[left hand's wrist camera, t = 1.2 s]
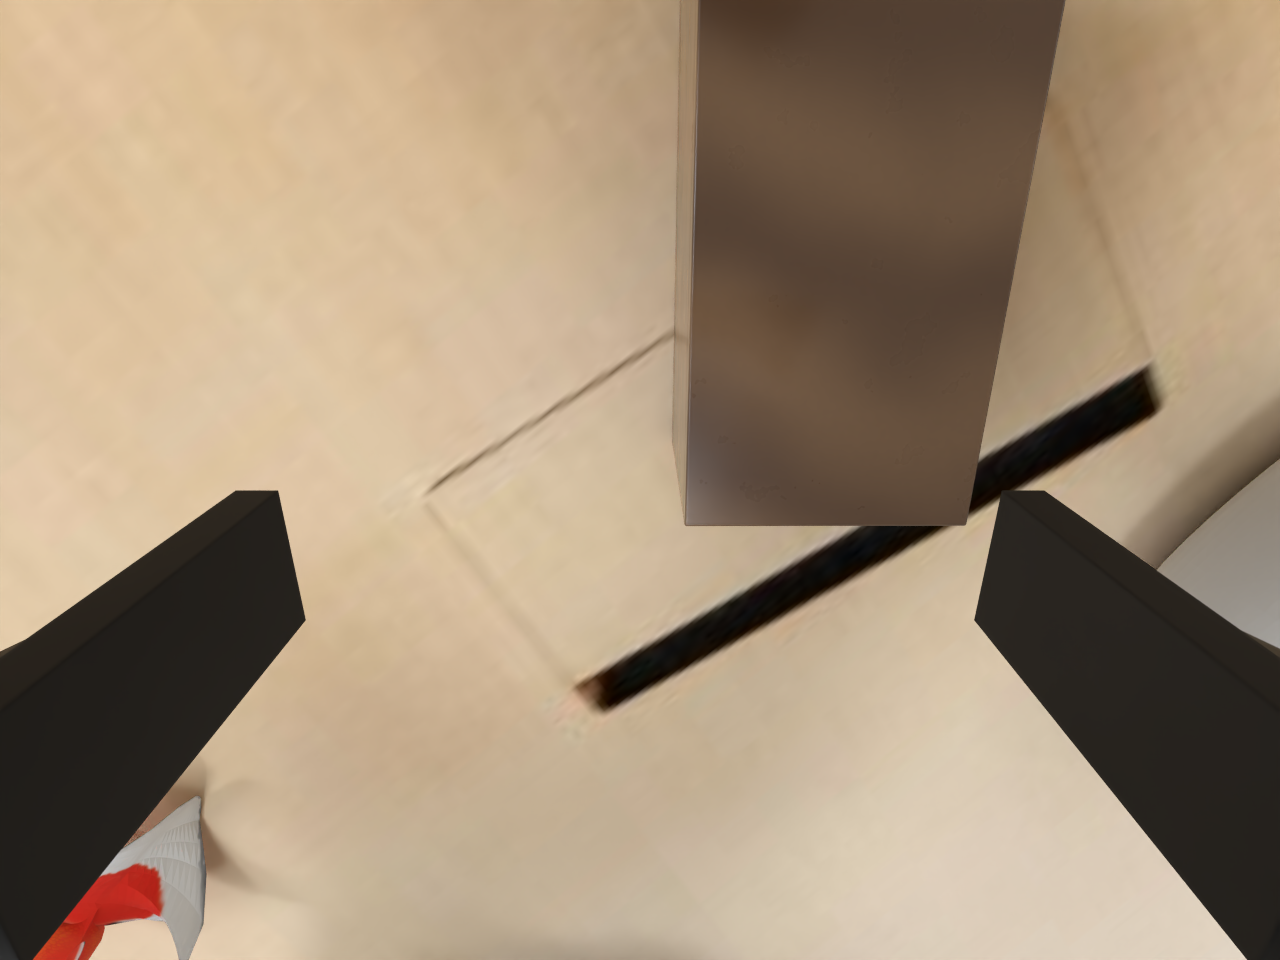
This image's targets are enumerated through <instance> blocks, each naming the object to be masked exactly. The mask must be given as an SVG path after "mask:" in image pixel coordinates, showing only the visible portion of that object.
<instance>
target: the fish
mask: <svg viewBox="0 0 1280 960" xmlns="http://www.w3.org/2000/svg"><path fill="white" fill-rule="evenodd" d="M200 813H201V798H200V796H195V797H193V798H192V799H190V800H189V801H187V802H186V803H184V804H183V805H181V806H179V807H178V808H177V809H176V810H174V811H173V812H172V813H171V814H169V815H168V816H167V817H166V818H164V819H163V820H162V821H161V822H160V823H158V824H157V825H156V826H155V827H154V828H152V829H151V830H150V831H148V832H147V833H145V834H144V835H142V836H141V837H139V838H138V839H136V840H135V841H133V842H132V843H130V844H129V845H127V846H125V847H124V848H122V849H121V851H120V852H119V853H118V854H117V856H116V857H115V858H114V859H113V861H112V862H111V863H110V864H109V865H108V867H107V868H106V869H105V870H104V872H103V873H102V874H101V875H100V877H99V878H98V879H97V880H96V882H95V883H94V884H93V885H92V887H91V888H90V889H89V890H88V892H87V893H86V894H85V895H84V897H83V898H82V899H81V900H80V902H79V903H78V904H77V905H76V907H75V908H74V909H73V910H72V912H71V913H70V914H69V915H68V917H67V918H66V919H65V920H64V921H63V923H62V924H61V925H60V926H59V928H58V929H57V930H56V931H55V933H54V934H53V935H52V936H51V938H50V939H49V940H48V941H47V943H46V944H45V945H44V946H43V948H42V949H41V950H40V951H39V953H38V954H37V955H36V956H35V958H34V959H33V960H88V959H89V958H90V957H91V955H92V954H93V952H94V951H95V949H96V947H97V946H98V944H99V943H100V941H101V939H102V936H103V933H104V929H105V927H104V925H112V924H117V923H123V922H129V921H134V920H140V919H147V920H155V921H164V922H165V923H166V924H167V926H168V928H169V930H170V932H171V934H172V936H173V939H174V942H175V945H176V949H177V953H178V957H179V960H189V958H190V955H191V953H192V950H193V948H194V946H195V943H196V941H197V938H198V936H199V933H200V931H201V929H202V926H203V922H204V905H205V889H206V867H205V859H204V850H203V842H202V834H201V827H200Z"/></svg>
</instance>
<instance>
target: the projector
mask: <svg viewBox="0 0 1280 960" xmlns="http://www.w3.org/2000/svg"><path fill="white" fill-rule="evenodd" d="M1157 571H1158V572H1160V573H1161V574H1163V575H1164V576H1165V577H1167V578H1168V579H1170V580H1171V581H1172V582H1174V583H1175V584H1177V585H1178V586H1179V587H1181V588H1182V589H1184V590H1185V591H1187V592H1188V593H1189V594H1191V595H1192V596H1194V597H1195V598H1196V599H1198V600H1199V601H1201V602H1202V603H1203V604H1205V605H1206V606H1208V607H1209V608H1210V609H1212V610H1213V611H1215V612H1216V613H1218V614H1219V615H1220V616H1222V617H1223V618H1225V619H1226V620H1227V621H1229V622H1230V623H1232V624H1233V625H1234V626H1236V627H1237V628H1239V629H1240V630H1242V631H1244V632H1246V633H1248V634H1250V635H1252V636H1254V637H1256V638H1259V639H1261V640H1263V641H1265V642H1267V643H1269V644H1271V645H1273V646H1275V647H1278V648H1280V459H1279V460H1277V461H1276V462H1275V463H1274V464H1272V465H1271V466H1270V467H1269V468H1267V469H1266V470H1265V471H1264V472H1262V473H1261V474H1260V475H1259V476H1258V477H1256V478H1255V479H1254V480H1253V481H1252V482H1250V483H1249V484H1248V485H1247V486H1245V487H1244V488H1243V489H1242V490H1241V491H1239V492H1238V493H1237V494H1236V495H1235V496H1234V497H1232V498H1231V499H1230V500H1229V501H1228V502H1227V503H1226V504H1224V505H1223V506H1222V507H1221V508H1220V509H1219V510H1218V511H1216V512H1215V513H1214V514H1213V515H1212V516H1211V517H1210V518H1209V519H1207V520H1206V521H1205V522H1204V523H1203V524H1202V525H1201V526H1200V527H1199V528H1198V529H1197V530H1196V531H1195V532H1193V533H1192V534H1191V535H1190V536H1189V537H1188V538H1187V539H1186V540H1185V541H1184V542H1183V543H1182V544H1181V545H1180V546H1179V547H1178V548H1177V549H1176V550H1175V551H1174V552H1173V553H1172V554H1171V555H1170V556H1169V557H1168V558H1167V559H1166V560H1165V561H1164V562H1163V563H1162V565H1161V566H1160V567H1159V568H1158V569H1157Z"/></svg>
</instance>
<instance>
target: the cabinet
mask: <svg viewBox="0 0 1280 960" xmlns="http://www.w3.org/2000/svg"><path fill="white" fill-rule="evenodd" d="M1064 5H1065V0H680V34H679V90H678V147H677V204H676V260H675V317H674V373H673V430H672V443H673V450H674V456H675V463H676V470H677V476H678V483H679V490H680V496H681V503H682V510H683V517H684V524H685V525H686V526H964V525H966V522H967V517H968V511H969V506H970V501H971V496H972V490H973V485H974V480H975V474H976V469H977V464H978V459H979V453H980V448H981V443H982V437H983V432H984V427H985V422H986V416H987V411H988V406H989V401H990V395H991V390H992V385H993V379H994V374H995V369H996V364H997V358H998V353H999V348H1000V343H1001V337H1002V332H1003V327H1004V321H1005V316H1006V311H1007V306H1008V300H1009V295H1010V290H1011V285H1012V279H1013V274H1014V269H1015V263H1016V258H1017V253H1018V248H1019V242H1020V237H1021V232H1022V227H1023V221H1024V216H1025V211H1026V205H1027V200H1028V195H1029V190H1030V184H1031V179H1032V174H1033V169H1034V163H1035V158H1036V153H1037V147H1038V142H1039V137H1040V132H1041V126H1042V121H1043V116H1044V110H1045V105H1046V100H1047V95H1048V89H1049V84H1050V79H1051V74H1052V68H1053V63H1054V58H1055V52H1056V47H1057V42H1058V37H1059V31H1060V26H1061V21H1062V16H1063V10H1064Z"/></svg>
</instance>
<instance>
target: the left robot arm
mask: <svg viewBox="0 0 1280 960" xmlns="http://www.w3.org/2000/svg"><path fill="white" fill-rule="evenodd" d="M305 620H306V619H305V615H304V610H303V605H302V601H301V596H300V591H299V586H298V582H297V577H296V572H295V568H294V563H293V558H292V554H291V549H290V544H289V540H288V535H287V530H286V526H285V521H284V516H283V511H282V507H281V502H280V497H279V493H278V491H235V492H233V493H232V494H230V495H229V496H228V497H226V498H225V499H223V500H222V501H220V502H219V503H218V504H216V505H215V506H213V507H212V508H211V509H209V510H208V511H206V512H205V513H204V514H202V515H201V516H199V517H198V518H196V519H195V520H194V521H192V522H191V523H189V524H188V525H187V526H185V527H184V528H182V529H181V530H180V531H178V532H177V533H175V534H174V535H172V536H171V537H170V538H168V539H167V540H165V541H164V542H163V543H161V544H160V545H158V546H157V547H156V548H154V549H153V550H151V551H150V552H149V553H147V554H146V555H144V556H143V557H141V558H140V559H139V560H137V561H136V562H134V563H133V564H132V565H130V566H129V567H127V568H126V569H125V570H123V571H122V572H120V573H119V574H117V575H116V576H115V577H113V578H112V579H110V580H109V581H108V582H106V583H105V584H103V585H102V586H101V587H99V588H98V589H96V590H95V591H93V592H92V593H91V594H89V595H88V596H86V597H85V598H84V599H82V600H81V601H79V602H78V603H77V604H75V605H74V606H72V607H71V608H70V609H68V610H67V611H65V612H64V613H62V614H61V615H60V616H58V617H57V618H55V619H54V620H53V621H51V622H50V623H48V624H47V625H46V626H44V627H43V628H41V629H40V630H38V631H37V632H36V633H34V634H33V635H31V636H30V637H29V638H27V639H26V640H24V641H21V642H19V643H17V644H15V645H13V646H11V647H9V648H7V649H5V650H3V651H1V652H0V960H33V959H34V958H35V956H36V955H37V954H38V953H39V951H40V950H41V949H42V948H43V946H44V945H45V944H46V943H47V941H48V940H49V939H50V938H51V936H52V935H53V934H54V933H55V931H56V930H57V929H58V928H59V926H60V925H61V924H62V923H63V921H64V920H65V919H66V918H67V917H68V915H69V914H70V913H71V912H72V910H73V909H74V908H75V907H76V905H77V904H78V903H79V902H80V900H81V899H82V898H83V897H84V895H85V894H86V893H87V892H88V890H89V889H90V888H91V887H92V885H93V884H94V883H95V882H96V880H97V879H98V878H99V877H100V875H101V874H102V873H103V872H104V870H105V869H106V868H107V867H108V865H109V864H110V863H111V862H112V861H113V859H114V858H115V857H116V856H117V854H118V853H119V852H120V851H121V849H122V848H123V847H124V846H125V844H126V843H127V842H128V841H129V839H130V838H131V837H132V836H133V834H134V833H135V832H136V831H137V829H138V828H139V827H140V826H141V824H142V823H143V822H144V821H145V819H146V818H147V817H148V816H149V814H150V813H151V812H152V811H153V809H154V808H155V807H156V806H157V805H158V803H159V802H160V801H161V800H162V798H163V797H164V796H165V795H166V793H167V792H168V791H169V790H170V788H171V787H172V786H173V785H174V783H175V782H176V781H177V780H178V778H179V777H180V776H181V775H182V773H183V772H184V771H185V770H186V768H187V767H188V766H189V765H190V763H191V762H192V761H193V760H194V758H195V757H196V756H197V755H198V753H199V752H200V751H201V750H202V749H203V747H204V746H205V745H206V744H207V742H208V741H209V740H210V739H211V737H212V736H213V735H214V734H215V732H216V731H217V730H218V729H219V727H220V726H221V725H222V724H223V722H224V721H225V720H226V719H227V717H228V716H229V715H230V714H231V712H232V711H233V710H234V709H235V707H236V706H237V705H238V704H239V702H240V701H241V700H242V699H243V697H244V696H245V695H246V694H247V693H248V691H249V690H250V689H251V688H252V686H253V685H254V684H255V683H256V681H257V680H258V679H259V678H260V676H261V675H262V674H263V673H264V671H265V670H266V669H267V668H268V666H269V665H270V664H271V663H272V661H273V660H274V659H275V658H276V656H277V655H278V654H279V653H280V651H281V650H282V649H283V648H284V646H285V645H286V644H287V643H288V642H289V640H290V639H291V638H292V637H293V635H294V634H295V633H296V632H297V630H298V629H299V628H300V627H301V625H302V624H303V623H304V622H305ZM974 620H975V622H976V623H977V624H978V625H979V627H980V628H981V629H982V630H983V632H984V633H985V634H986V635H987V637H988V638H989V639H990V640H991V642H992V643H993V644H994V645H995V646H996V648H997V649H998V650H999V651H1000V653H1001V654H1002V655H1003V656H1004V658H1005V659H1006V660H1007V661H1008V663H1009V664H1010V665H1011V666H1012V668H1013V669H1014V670H1015V671H1016V673H1017V674H1018V675H1019V676H1020V678H1021V679H1022V680H1023V681H1024V683H1025V684H1026V685H1027V686H1028V688H1029V689H1030V690H1031V691H1032V693H1033V694H1034V695H1035V696H1036V697H1037V699H1038V700H1039V701H1040V702H1041V704H1042V705H1043V706H1044V707H1045V709H1046V710H1047V711H1048V712H1049V714H1050V715H1051V716H1052V717H1053V719H1054V720H1055V721H1056V722H1057V724H1058V725H1059V726H1060V727H1061V729H1062V730H1063V731H1064V732H1065V734H1066V735H1067V736H1068V737H1069V739H1070V740H1071V741H1072V742H1073V744H1074V745H1075V746H1076V747H1077V749H1078V750H1079V751H1080V752H1081V753H1082V755H1083V756H1084V757H1085V758H1086V760H1087V761H1088V762H1089V763H1090V765H1091V766H1092V767H1093V768H1094V770H1095V771H1096V772H1097V773H1098V775H1099V776H1100V777H1101V778H1102V780H1103V781H1104V782H1105V783H1106V785H1107V786H1108V787H1109V788H1110V790H1111V791H1112V792H1113V793H1114V795H1115V796H1116V797H1117V798H1118V800H1119V801H1120V802H1121V803H1122V805H1123V806H1124V807H1125V808H1126V809H1127V811H1128V812H1129V813H1130V814H1131V816H1132V817H1133V818H1134V819H1135V821H1136V822H1137V823H1138V824H1139V826H1140V827H1141V828H1142V829H1143V831H1144V832H1145V833H1146V834H1147V836H1148V837H1149V838H1150V839H1151V841H1152V842H1153V843H1154V844H1155V846H1156V847H1157V848H1158V849H1159V851H1160V852H1161V853H1162V854H1163V856H1164V857H1165V858H1166V859H1167V861H1168V862H1169V863H1170V864H1171V865H1172V867H1173V868H1174V869H1175V870H1176V872H1177V873H1178V874H1179V875H1180V877H1181V878H1182V879H1183V880H1184V882H1185V883H1186V884H1187V885H1188V887H1189V888H1190V889H1191V890H1192V892H1193V893H1194V894H1195V895H1196V897H1197V898H1198V899H1199V900H1200V902H1201V903H1202V904H1203V905H1204V907H1205V908H1206V909H1207V910H1208V912H1209V913H1210V914H1211V915H1212V917H1213V918H1214V919H1215V920H1216V921H1217V923H1218V924H1219V925H1220V926H1221V928H1222V929H1223V930H1224V931H1225V933H1226V934H1227V935H1228V936H1229V938H1230V939H1231V940H1232V941H1233V943H1234V944H1235V945H1236V946H1237V948H1238V949H1239V950H1240V951H1241V953H1242V954H1243V955H1244V956H1245V958H1246V959H1247V960H1280V648H1278V647H1275V646H1273V645H1271V644H1269V643H1267V642H1265V641H1263V640H1261V639H1259V638H1256V637H1254V636H1252V635H1250V634H1248V633H1246V632H1244V631H1242V630H1240V629H1239V628H1237V627H1236V626H1234V625H1233V624H1232V623H1230V622H1229V621H1227V620H1226V619H1225V618H1223V617H1222V616H1220V615H1219V614H1218V613H1216V612H1215V611H1213V610H1212V609H1210V608H1209V607H1208V606H1206V605H1205V604H1203V603H1202V602H1201V601H1199V600H1198V599H1196V598H1195V597H1194V596H1192V595H1191V594H1189V593H1188V592H1187V591H1185V590H1184V589H1182V588H1181V587H1179V586H1178V585H1177V584H1175V583H1174V582H1172V581H1171V580H1170V579H1168V578H1167V577H1165V576H1164V575H1163V574H1161V573H1160V572H1158V571H1157V570H1155V569H1154V568H1153V567H1151V566H1150V565H1148V564H1147V563H1146V562H1144V561H1143V560H1141V559H1140V558H1139V557H1137V556H1136V555H1134V554H1133V553H1131V552H1130V551H1129V550H1127V549H1126V548H1124V547H1123V546H1122V545H1120V544H1119V543H1117V542H1116V541H1115V540H1113V539H1112V538H1110V537H1109V536H1108V535H1106V534H1105V533H1103V532H1102V531H1100V530H1099V529H1098V528H1096V527H1095V526H1093V525H1092V524H1091V523H1089V522H1088V521H1086V520H1085V519H1084V518H1082V517H1081V516H1079V515H1078V514H1076V513H1075V512H1074V511H1072V510H1071V509H1069V508H1068V507H1067V506H1065V505H1064V504H1062V503H1061V502H1060V501H1058V500H1057V499H1055V498H1054V497H1052V496H1051V495H1050V494H1048V493H1047V492H1045V491H1002V493H1001V497H1000V502H999V507H998V511H997V516H996V521H995V526H994V530H993V535H992V540H991V544H990V549H989V554H988V558H987V563H986V568H985V572H984V577H983V582H982V586H981V591H980V596H979V601H978V605H977V610H976V615H975V619H974Z"/></svg>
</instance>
